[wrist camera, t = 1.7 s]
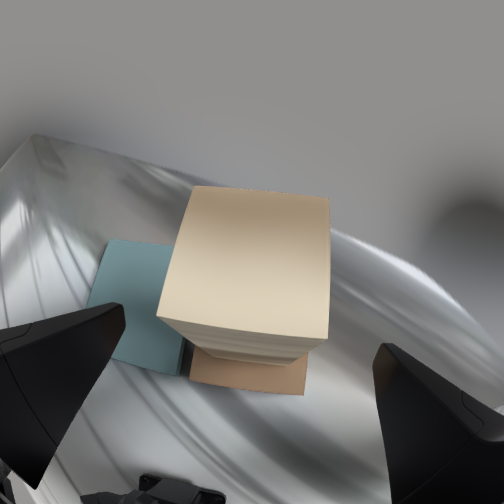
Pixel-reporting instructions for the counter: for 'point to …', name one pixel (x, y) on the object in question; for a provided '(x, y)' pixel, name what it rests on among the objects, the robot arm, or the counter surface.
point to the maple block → (250, 274)
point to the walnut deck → (249, 374)
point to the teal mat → (139, 304)
